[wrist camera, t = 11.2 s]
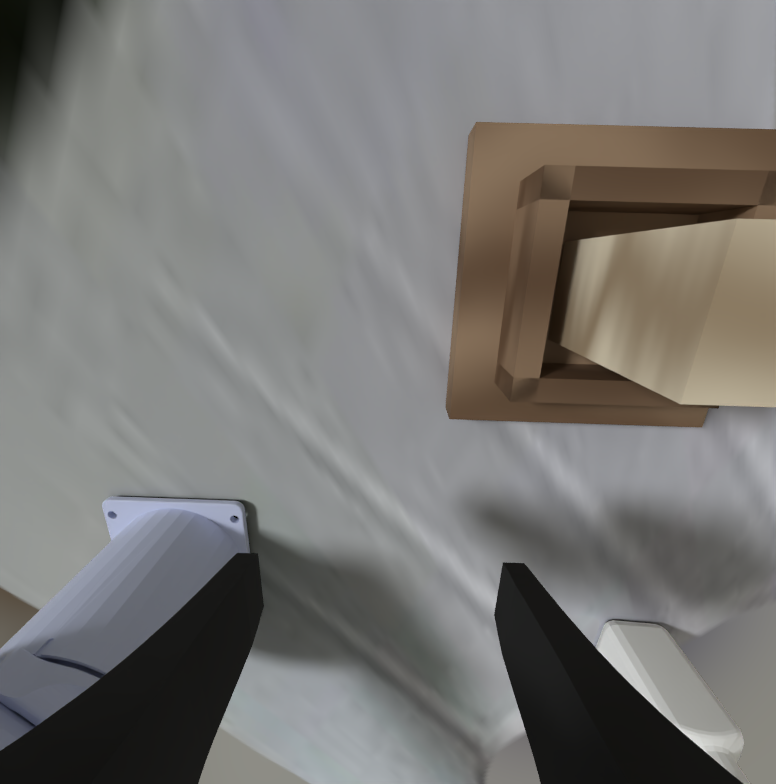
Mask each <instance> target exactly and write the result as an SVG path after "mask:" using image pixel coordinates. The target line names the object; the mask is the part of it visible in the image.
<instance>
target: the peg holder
mask: <svg viewBox="0 0 776 784" xmlns="http://www.w3.org/2000/svg"><path fill="white" fill-rule="evenodd" d="M731 219H773V220H776V130H775V129H735V128H694V127H654V126H614V125H574V124H534V123H493V122H476V123H475V125H474V127H473V129H472V130H471V132H470V134H469V137H468V149H467V161H466V173H465V185H464V196H463V208H462V220H461V232H460V244H459V256H458V267H457V279H456V291H455V303H454V315H453V326H452V338H451V350H450V362H449V374H448V386H447V397H446V410H447V413H448V416H449V419H465V420H495V421H525V422H556V423H586V424H617V425H647V426H677V427H702V426H703V423H704V420H705V417H706V414H707V411H708V408H719V405H688V404H679V403H677V402H675V401H673V400H671V399H669V398H667V397H665V396H663V395H660V394H658V393H656V392H654V391H652V390H650V389H648V388H646V387H644V386H642V385H640V384H638V383H636V382H634V381H632V380H630V379H628V378H626V377H624V376H622V375H620V374H618V373H616V372H614V371H612V370H610V369H608V368H606V367H604V366H601V365H599V364H597V363H595V362H593V361H591V360H589V359H587V358H585V357H583V356H581V355H579V354H577V353H575V352H573V351H571V350H569V349H567V348H565V347H563V346H561V345H559V344H557V343H555V342H553V341H551V340H549V339H548V337H549V331H550V325H551V319H552V313H553V307H554V302H555V296H556V290H557V284H558V278H559V272H560V266H561V261H562V255H563V249H564V243H565V242H567V241H574V240H581V239H589V238H596V237H604V236H611V235H619V234H626V233H634V232H641V231H649V230H656V229H663V228H671V227H678V226H686V225H693V224H701V223H708V222H716V221H723V220H731Z"/></svg>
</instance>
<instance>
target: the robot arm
mask: <svg viewBox="0 0 776 784" xmlns="http://www.w3.org/2000/svg"><path fill="white" fill-rule="evenodd" d="M102 508H103V511H104V515H105V519H106V522H107V526H108V530H109V533H110V537H111V542H110V543H109V544H108V545H107V546H106V547H105V548H104V549H103V550H101V551H100V552H99V553H98V554H97V555H96V556H95V557H94V558H93V559H92V560H91V561H90V562H89V563H88V564H87V565H86V566H85V567H84V568H83V569H82V570H81V571H80V572H79V573H78V574H77V575H76V576H75V577H74V578H73V579H72V580H71V581H70V582H69V583H68V584H67V585H65V586H64V587H63V588H62V589H61V590H60V591H59V592H58V593H57V594H56V595H55V596H54V597H53V598H52V599H51V600H50V601H49V602H48V603H47V604H46V605H45V606H44V607H43V608H42V609H41V610H40V611H39V612H38V613H37V614H36V615H35V616H34V617H33V618H32V619H31V620H30V621H28V622H27V623H26V624H25V625H24V627H22V628H21V629H20V631H18V632H17V633H16V634H15V635H14V636H13V637H12V638H11V639H10V640H9V641H8V642H7V643H6V644H5V645H4V646H3V647H2V648H1V649H0V784H198V782H199V779H200V776H201V773H202V770H203V767H204V764H205V761H206V759H207V756H208V753H209V750H210V748H211V745H212V743H213V740H214V737H215V735H216V733H217V730H218V728H219V725H220V723H221V720H222V718H223V716H224V713H225V711H226V708H227V706H228V703H229V701H230V699H231V696H232V694H233V691H234V689H235V686H236V684H237V682H238V679H239V677H240V674H241V672H242V669H243V667H244V664H245V662H246V659H247V657H248V654H249V652H250V649H251V647H252V644H253V641H254V638H255V634H256V631H257V628H258V624H259V621H260V617H261V614H262V610H263V607H264V605H263V596H262V587H261V578H260V569H259V560H258V554H256V553H250V547H249V539H248V530H247V522H246V514H245V507H244V505H243V504H242V503H240V502H239V501H228V500H199V499H171V498H143V497H114V496H113V497H109V498H107V499H106V500H105V501H104V502H103V503H102ZM114 512H115V513H116V514H115V513H114ZM234 516H237V517H238V518H239V519H237V518H235V517H234ZM494 616H495V621H496V626H497V631H498V636H499V641H500V646H501V651H502V655H503V659H504V662H505V665H506V669H507V672H508V675H509V678H510V682H511V685H512V688H513V692H514V695H515V698H516V701H517V704H518V708H519V711H520V714H521V717H522V720H523V724H524V727H525V730H526V733H527V737H528V739H529V743H530V746H531V749H532V752H533V756H534V760H535V763H536V767H537V771H538V774H539V778H540V782H541V784H743V783H742V782H741V781H740V780H738V779H737V778H736V777H735V776H734V775H732V774H731V773H730V772H729V771H727V770H726V769H725V768H724V767H722V766H721V765H720V764H719V763H718V762H717V761H715V760H714V759H713V758H712V757H711V756H710V755H708V754H707V753H706V752H705V751H704V750H703V749H701V748H700V747H699V746H698V745H697V744H696V743H694V742H693V741H692V740H691V739H690V738H689V737H687V736H686V735H685V734H684V733H683V732H681V731H680V730H679V729H678V728H677V727H676V726H675V725H674V724H673V723H671V722H670V721H669V720H668V719H667V718H666V717H665V716H664V715H663V714H661V713H660V712H659V711H658V710H657V709H656V708H655V707H654V706H653V705H652V704H651V703H650V702H649V701H648V700H647V699H646V698H645V697H644V696H642V695H641V694H640V693H639V692H638V691H637V690H636V689H635V688H634V687H633V686H632V685H631V684H630V683H629V682H628V681H627V680H626V679H625V678H624V677H623V676H622V675H621V674H620V673H619V672H618V671H617V670H616V669H615V668H614V667H613V666H612V665H611V664H610V663H609V661H608V660H607V659H606V658H605V657H604V656H603V655H602V654H601V653H600V652H599V651H598V650H597V649H596V648H595V646H594V645H593V644H592V643H591V642H590V641H589V640H588V639H587V638H586V637H585V635H584V634H583V633H582V632H581V631H580V630H579V629H578V627H577V626H576V625H575V624H574V623H573V622H572V621H571V619H570V618H569V617H568V616H567V615H566V614H565V612H564V611H563V610H562V609H561V608H560V607H559V605H558V604H557V603H556V602H555V600H554V599H553V598H552V597H551V596H550V594H549V593H548V592H547V591H546V590H545V588H544V587H543V586H542V585H541V583H540V582H539V581H538V580H537V578H536V577H535V576H534V575H533V573H532V572H531V571H530V570H529V569H528V567H527V566H526V565H525V564H524V563H503V566H502V572H501V578H500V584H499V590H498V596H497V602H496V608H495V614H494Z"/></svg>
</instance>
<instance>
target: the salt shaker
mask: <svg viewBox="0 0 776 784" xmlns="http://www.w3.org/2000/svg"><path fill="white" fill-rule="evenodd" d="M595 648H596V649H597V650H598V651H599V652H600V653H601V654H602V655H603V656H604V657H605V658H606V659H607V660H608V661H609V663H610V664H611V665H612V666H613V667H614V668H615V669H616V670H617V671H618V672H619V673H620V674H621V675H622V676H623V677H624V678H625V679H626V680H627V681H628V682H629V683H630V684H631V685H632V686H633V687H634V688H635V689H636V690H637V691H638V692H639V693H640V694H641V695H642V696H644V697H645V698H646V699H647V700H648V701H649V702H650V703H651V704H652V705H653V706H654V707H655V708H656V709H657V710H658V711H659V712H660V713H661V714H663V715H664V716H665V717H666V718H667V719H668V720H669V721H670V722H671V723H673V724H674V725H675V726H676V727H677V728H678V729H679V730H680V731H681V732H683V733H684V734H685V735H686V736H687V737H689V738H690V739H691V740H692V741H693V742H694V743H696V744H697V745H698V746H699V747H700V748H701V749H703V750H704V751H705V752H706V753H707V754H708V755H710V756H711V757H712V758H713V759H714V760H715V761H717V762H718V763H719V764H720V765H721V766H722V767H724V768H725V769H726V770H727V771H729V772H730V773H731V774H732V775H734V776H735V777H736V778H737V779H738V780H740V781H741V782H742V783H743V784H751V783H750V782H749V780H748V779H747V777H746V776H745V774H744V773H743V771H742V770H741V768H740V767H739V765H738V764H737V762H738V761H739V759H740V757H741V753H742V750H743V746H744V739H743V736H742V732H741V730H740V728H739V727H738V725H737V724H736V723H735V721H734V720H733V719H732V717H731V716H730V715H729V713H728V712H727V710H726V709H725V708H724V706H723V705H722V704H721V702H720V701H719V700H718V698H717V697H716V696H715V694H714V693H713V692H712V690H711V689H710V688H709V686H708V685H707V684H706V682H705V681H704V680H703V678H702V677H701V676H700V674H699V673H698V671H697V670H696V669H695V667H694V666H693V665H692V663H691V662H690V661H689V659H688V658H687V657H686V655H685V654H684V653H683V651H682V650H681V648H680V647H679V646H678V644H677V643H676V642H675V640H674V639H673V638H672V636H671V635H670V634H669V632H668V631H667V630H666V629H665V628H663V627H662V626H660V625H657V624H651V623H639V622H627V621H615V620H612V621H609V622H607V623H606V624H604V627H603V629H602V632H601V634H600V637H599V640H598V642H597V645H596V647H595Z"/></svg>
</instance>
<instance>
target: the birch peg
mask: <svg viewBox="0 0 776 784" xmlns="http://www.w3.org/2000/svg"><path fill="white" fill-rule="evenodd" d="M548 339H549V340H551V341H553V342H555V343H557V344H559V345H561V346H563V347H565V348H567V349H569V350H571V351H573V352H575V353H577V354H579V355H581V356H583V357H585V358H587V359H589V360H591V361H593V362H595V363H597V364H599V365H601V366H604V367H606V368H608V369H610V370H612V371H614V372H616V373H618V374H620V375H622V376H624V377H626V378H628V379H630V380H632V381H634V382H636V383H638V384H640V385H642V386H644V387H646V388H648V389H650V390H652V391H654V392H656V393H658V394H660V395H663V396H665V397H667V398H669V399H671V400H673V401H675V402H677V403H679V404H688V405H720V406H752V407H776V220H773V219H731V220H723V221H716V222H708V223H701V224H693V225H686V226H678V227H671V228H663V229H656V230H649V231H641V232H634V233H626V234H619V235H611V236H604V237H596V238H589V239H581V240H574V241H567V242H565V243H564V249H563V255H562V261H561V266H560V272H559V278H558V284H557V290H556V296H555V302H554V307H553V313H552V319H551V325H550V331H549V337H548Z"/></svg>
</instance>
